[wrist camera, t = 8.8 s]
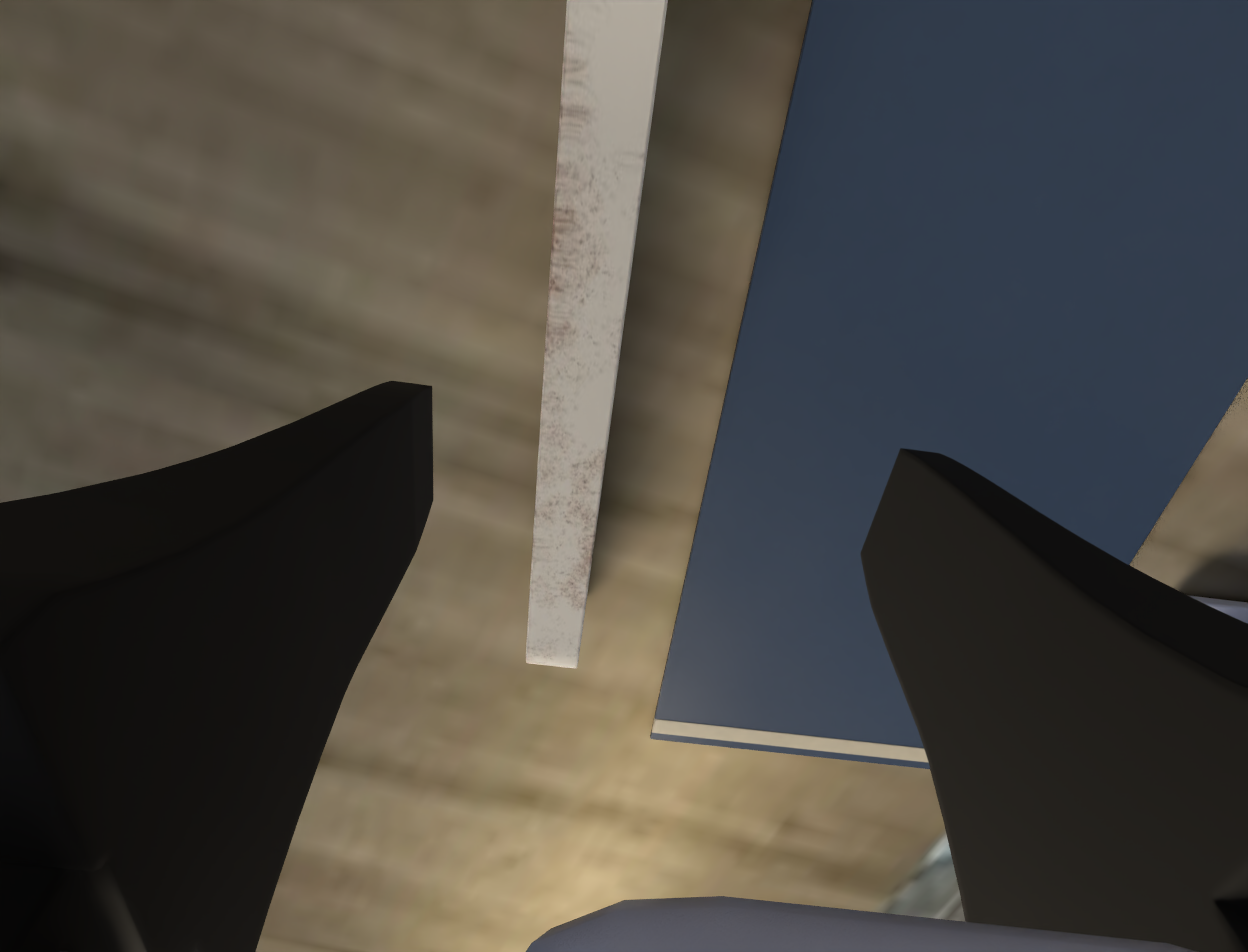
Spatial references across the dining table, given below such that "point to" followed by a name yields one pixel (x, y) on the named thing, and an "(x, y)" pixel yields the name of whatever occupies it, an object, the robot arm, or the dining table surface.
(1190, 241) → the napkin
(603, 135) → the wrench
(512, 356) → the dining table surface
